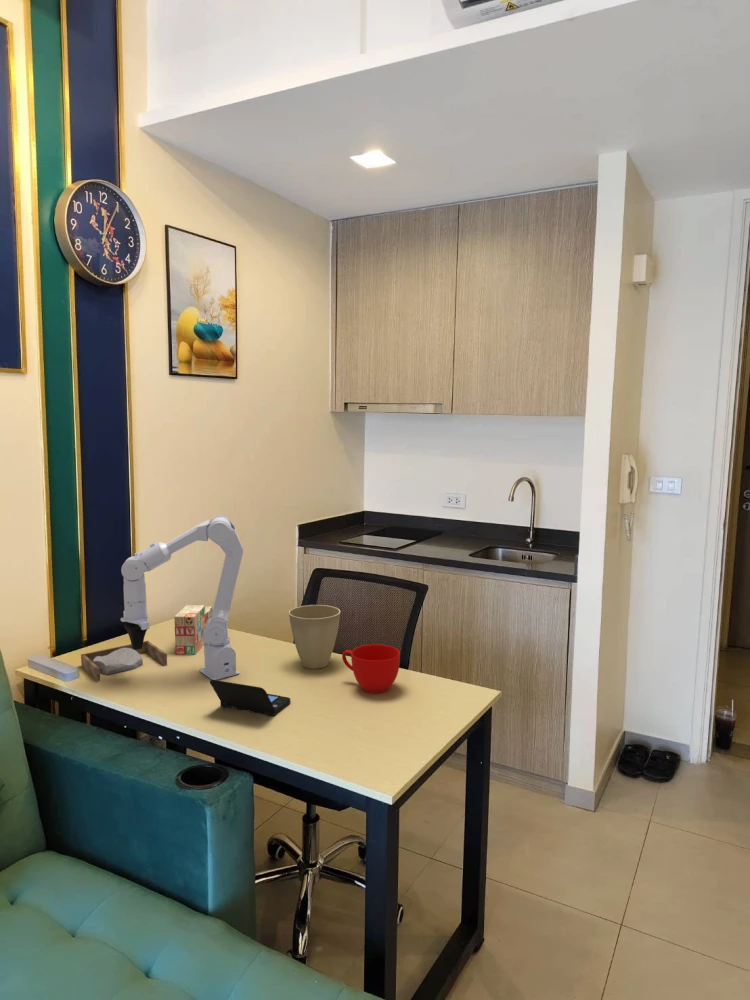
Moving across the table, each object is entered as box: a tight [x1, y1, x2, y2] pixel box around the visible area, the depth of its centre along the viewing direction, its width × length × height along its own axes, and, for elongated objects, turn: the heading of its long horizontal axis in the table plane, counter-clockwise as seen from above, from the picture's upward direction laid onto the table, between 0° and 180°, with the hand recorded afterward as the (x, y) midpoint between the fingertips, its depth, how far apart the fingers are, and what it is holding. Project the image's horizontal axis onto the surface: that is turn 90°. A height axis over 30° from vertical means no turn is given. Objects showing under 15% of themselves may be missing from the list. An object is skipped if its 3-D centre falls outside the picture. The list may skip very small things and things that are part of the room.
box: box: [80, 640, 168, 682], centre depth 198 cm, size 15×20×4 cm
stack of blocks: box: [173, 604, 213, 656], centre depth 217 cm, size 21×6×12 cm, turn 179°
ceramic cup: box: [341, 643, 401, 694], centre depth 183 cm, size 13×17×10 cm
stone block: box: [93, 648, 144, 675], centre depth 197 cm, size 12×5×10 cm
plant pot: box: [288, 604, 341, 670], centre depth 199 cm, size 15×15×16 cm
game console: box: [209, 679, 291, 717], centre depth 170 cm, size 16×14×9 cm
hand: (137, 648), depth 189 cm, fingers closed
